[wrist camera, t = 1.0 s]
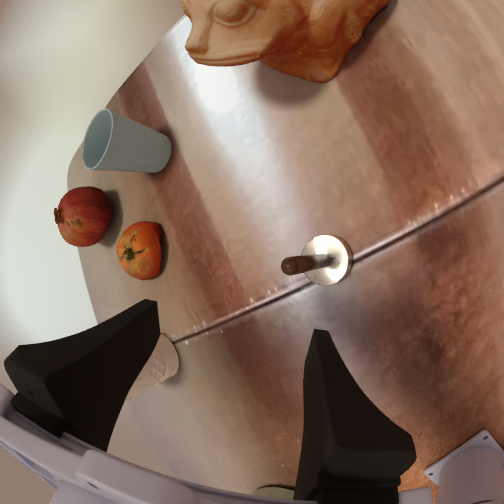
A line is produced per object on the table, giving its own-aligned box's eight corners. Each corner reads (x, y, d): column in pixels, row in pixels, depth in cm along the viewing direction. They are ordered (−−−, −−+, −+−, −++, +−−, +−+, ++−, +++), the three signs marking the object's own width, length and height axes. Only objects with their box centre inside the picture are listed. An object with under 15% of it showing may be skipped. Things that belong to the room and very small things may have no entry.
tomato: (137, 295, 39) (98, 263, 36) (147, 262, 45) (114, 232, 41) (176, 271, 37) (134, 233, 33) (184, 238, 42) (148, 203, 38)
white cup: (164, 387, 40) (110, 410, 31) (139, 343, 42) (84, 358, 34) (191, 368, 36) (131, 393, 28) (162, 318, 39) (100, 332, 31)
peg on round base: (362, 258, 25) (333, 265, 17) (330, 293, 27) (288, 314, 19) (327, 225, 27) (283, 217, 19) (298, 260, 28) (245, 268, 21)
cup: (186, 136, 36) (120, 114, 27) (163, 188, 38) (96, 179, 29) (156, 122, 39) (96, 104, 30) (136, 169, 42) (76, 159, 33)
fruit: (128, 194, 43) (71, 188, 34) (117, 255, 45) (62, 257, 36) (99, 183, 48) (51, 178, 39) (89, 236, 50) (42, 236, 41)
